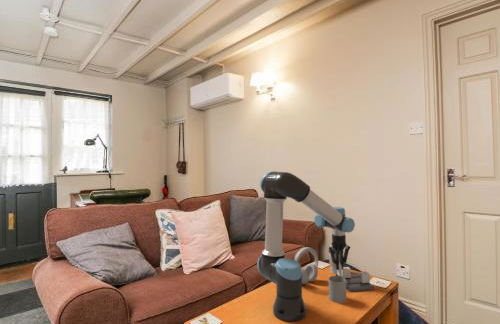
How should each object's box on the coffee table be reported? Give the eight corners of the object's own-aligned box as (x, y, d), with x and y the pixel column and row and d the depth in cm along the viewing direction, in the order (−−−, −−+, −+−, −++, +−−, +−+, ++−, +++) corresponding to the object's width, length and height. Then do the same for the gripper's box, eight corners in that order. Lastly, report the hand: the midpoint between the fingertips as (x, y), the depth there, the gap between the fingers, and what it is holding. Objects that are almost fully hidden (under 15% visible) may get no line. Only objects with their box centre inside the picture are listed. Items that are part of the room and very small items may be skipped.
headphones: (299, 289, 157) (299, 252, 157) (289, 284, 164) (288, 249, 164) (322, 280, 169) (322, 246, 168) (312, 276, 175) (311, 243, 175)
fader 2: (362, 283, 158) (362, 273, 158) (360, 280, 161) (359, 271, 161) (369, 282, 159) (369, 273, 159) (366, 280, 162) (366, 271, 162)
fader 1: (343, 278, 166) (343, 269, 166) (341, 275, 169) (341, 267, 169) (350, 277, 166) (350, 268, 166) (348, 275, 169) (348, 266, 169)
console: (348, 291, 154) (348, 285, 154) (335, 277, 172) (335, 272, 172) (373, 289, 155) (373, 284, 155) (358, 276, 173) (358, 271, 173)
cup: (347, 303, 141) (346, 283, 141) (329, 302, 143) (329, 282, 143) (345, 295, 150) (344, 276, 150) (328, 294, 151) (328, 275, 151)
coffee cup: (345, 270, 183) (345, 247, 183) (341, 275, 175) (341, 250, 175) (331, 268, 188) (330, 245, 187) (326, 272, 180) (326, 248, 180)
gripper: (330, 236, 163) (331, 278, 163) (352, 235, 164) (353, 277, 164) (325, 233, 170) (326, 273, 170) (346, 232, 171) (347, 272, 171)
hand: (339, 275), depth 167 cm, fingers closed
